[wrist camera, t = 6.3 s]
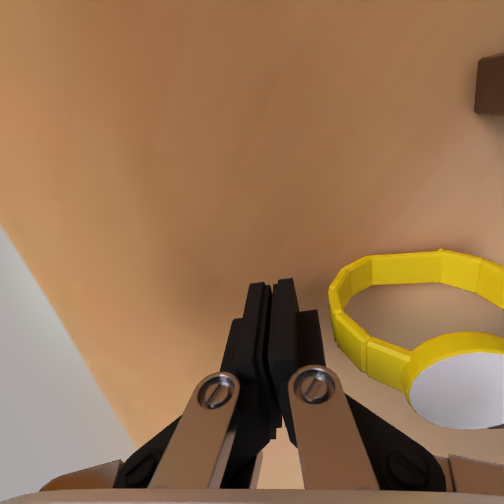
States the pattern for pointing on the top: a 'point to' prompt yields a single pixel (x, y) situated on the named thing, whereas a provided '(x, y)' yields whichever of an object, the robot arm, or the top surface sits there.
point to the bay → (490, 96)
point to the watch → (434, 350)
